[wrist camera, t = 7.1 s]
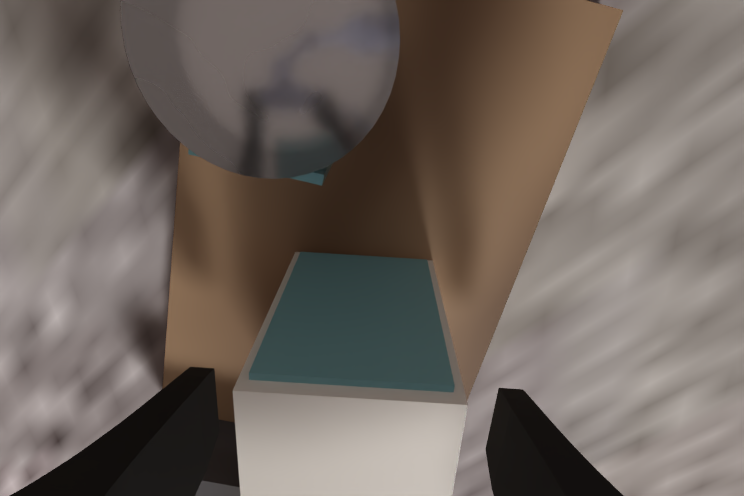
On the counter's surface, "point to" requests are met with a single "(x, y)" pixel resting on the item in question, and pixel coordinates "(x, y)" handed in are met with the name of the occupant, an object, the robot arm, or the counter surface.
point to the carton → (351, 384)
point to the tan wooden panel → (396, 188)
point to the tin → (265, 77)
